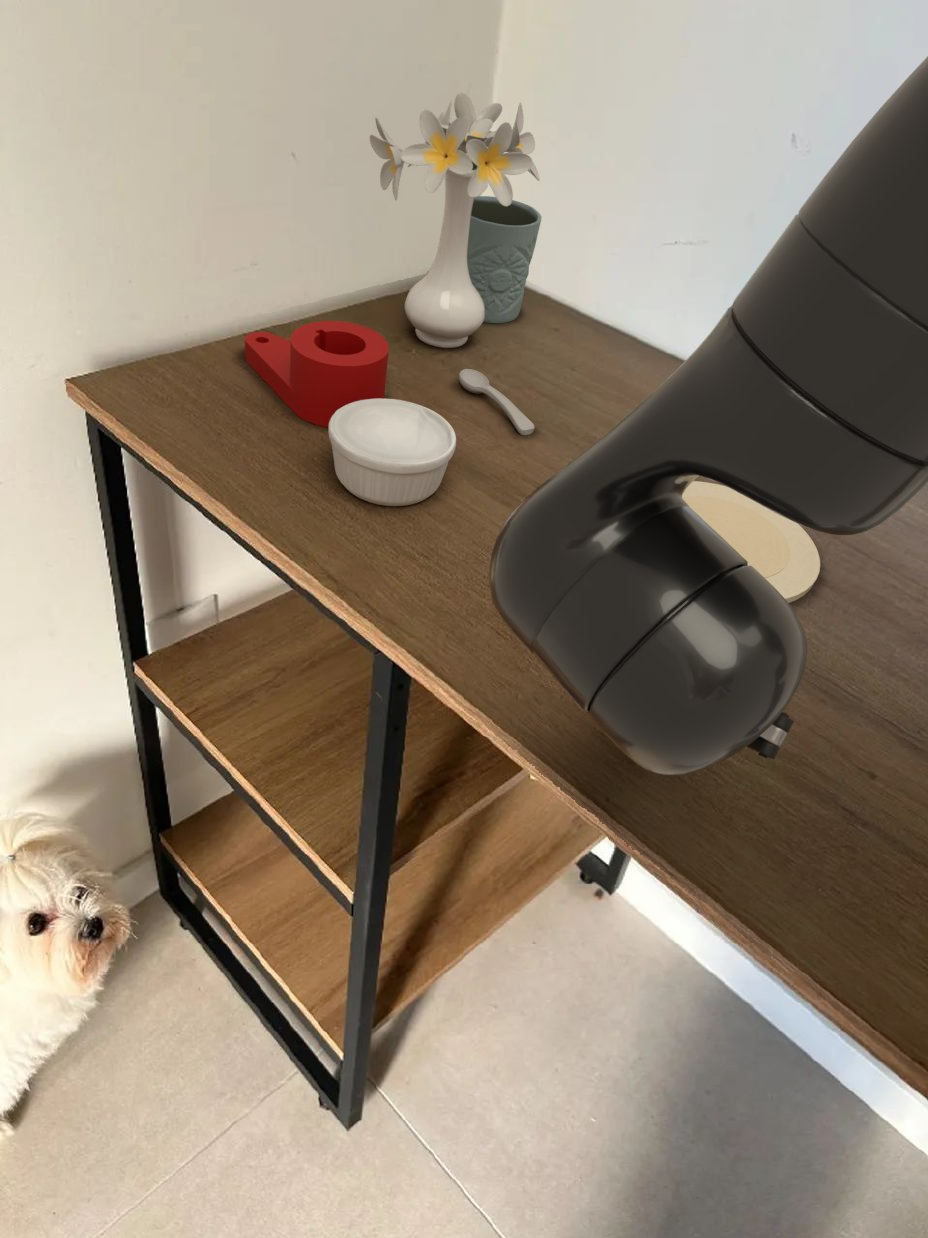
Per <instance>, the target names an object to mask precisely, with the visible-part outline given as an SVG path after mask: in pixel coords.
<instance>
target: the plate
mask: <svg viewBox="0 0 928 1238" xmlns="http://www.w3.org/2000/svg"><path fill="white" fill-rule="evenodd" d="M682 499H683V500H684V501H685V502H686V503H687V504H688V506H689V507H690V508H691V509H692V510H693V511H694V512H695V513H697V514H698V515H699V516H700V517H701V518H702V519H703V520H704V521H705V522H706V523H707V524H708V525H709V526H710V527H711V528H712V529H713V530H715V531H716V532H717V533H718V534H719V535H720V536H721V537H722V538H723V539H724V540H725V541H726V542H727V543H728V544H729V545H730V546H731V547H733V548H734V549H735V550H736V551H737V552H738V553H739V554H740V555H741V556H742V557H743V558H744V559H745V560H746V561H747V562H748V566H752V567H754V568H755V569H756V570H757V571H758V572H759V573H760V574H761V575H762V576H763V577H764V578H765V579H766V580H767V581H768V582H769V583H770V584H771V585H772V586H773V587H774V588H775V589H776V590H777V591H778V592H779V593H780V594H781V595H782V596H783V597H784V598H785V600H786V601H787V602H788V603H789V604H790V603H794V602H796V601H797V600H799V599H802V597H805V595H806V594H807V593H809V592H810V590H811V589H812V588H813V587H814V585H815V583H816V581H817V579H818V577H819V575H820V571H821V557H820V554H819V550H818V549H817V547H816V545H815V542H814V541H813V540H812V538H811V536H810V535H809V534H808V533H807V532H806V530H805V529H804V528H803V526H802V525H800V524H798V523H796V522H793V521H791V520H789V519H787V518H785V517H783V516H780V515H778V514H776V513H774V512H773V511H771V510H769V509H767V508H766V507H764V506H762V505H760V504H759V503H757V502H755V501H753V500H751V499H749V498H748V497H746V496H744V495H742V494H740V493H738V492H736V491H735V490H733V489H731V488H729V487H726V486H724V485H722V484H720V483H718V484H717V483H714V482H707V481H700V480H699V481H698V480H694V481H693V482H692V483H691V484H690V485H689V486H688V487H687V489H686V490H685V492H684V493H683V495H682Z"/></svg>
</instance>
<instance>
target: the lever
mask: <svg viewBox="0 0 928 1238" xmlns="http://www.w3.org/2000/svg"><path fill="white" fill-rule="evenodd" d="M389 347H390V346H389V343H388V341H387V340H386V338H385V337H384V336H383V335H382V334H380V333H379V332H377V331H376V330H374V329H371V328H369V327H367V326H364V325H360V324H358V323H353V322H347V321H341V320H340V321H338V320H323V321H313V322H310V323H306V324H303V325H302V326H299V327H298V328H296V329H295V330H293V332H292V333H291V335H290V339H287V338H285V337H282V336H279V335H276V334H275V333H271V332H268V331H267V332H266V331H253V332H249V333H248V334H246V335H245V337H244V359H245V362H246V363H247V364H248V365H249V366H250V367H251V368H252V370H254V371H255V373H257V375H259V377H260V378H261V379H262V380H263V381H264V382H265V383H266V384H267V385H268V386H269V387H270V388H271V390H272V391H273V392H275V394H277V396H278V397H279V398H280V399H281V400H282V401H283V402H284V403H285V405H287V406H288V408H289V409H290V410H291V411H292V412H293V413H294V414H295V415H296V416H297V417H299V418H300V419H302V420H304V421H306V422H308V423H310V424H313V425H315V426H319V427H324V428H328V429H329V422H330V419H331V417H332V415H333V414H334V413H335V412H336V411H337V410H338V409H340V408H341V407H343V406H345V405H347V404H350V403H353V402H356V401H360V400H366V399H378V398H381V399H385V394H386V382H387V373H388V363H389V351H390V348H389Z"/></svg>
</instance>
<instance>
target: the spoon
mask: <svg viewBox="0 0 928 1238" xmlns="http://www.w3.org/2000/svg"><path fill="white" fill-rule="evenodd" d="M458 381H459V383H460V385H461V386H462V388H464V389H465V390H466V391H467V392H468V393H472V394H477V395H479V394H485V395H487V396H488V397H490V398H491V399H492V400H493V401H495V402H496V404H497V405H498V406H499V407H500V408H501V410H502V411H503V412H504V413H505V414H506V416H507V417H508V419H509V420H510V422H511V423H512V424H513V426H514V428H515V430H516V431H517V432H518V434H520V435H521V436H528V435H531V434H533V432H534V431H535V425H534V423H533V422H532V421H531V419H529V418H528V417H527V416H526V415H525V414H524V413H523V412H522V411H521V410H520V409H519V408H518V407H517V406H516V405H515V404H514V403H513V402H512V401H511V400H510V399H508V397H506V396H505V395H504V394H503V393H501V392H500V391H499V390H497V388H494V387H493V386H492V385H490V380H489V379H488V377H486V376H485V374H483V373H482V372H480V371H478V370H475V369H472V368H464V369H462V370H460V371H459V373H458Z"/></svg>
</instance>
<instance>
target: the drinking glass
mask: <svg viewBox="0 0 928 1238" xmlns="http://www.w3.org/2000/svg"><path fill="white" fill-rule="evenodd" d="M541 222H542V215H541V213H540V212H539V211H538V210H537V209H535V208H534V207H533V206H531V205H530V204H526V203H524V202H521V201H518V200H515V199H512V203H511V204H510V205H509V206H503V205H502V204H501V203H500V202H499V201H498V200H497V198H496V197H495V196H490V195H480V196H477V197H475V198H474V202H473V206H472V212H471V219H470V228H469V238H468V250H467V264H468V270H469V275H470V278H471V282H472V284H473V285H474V287H475V288H476V289H477V291H478V292H479V294H480V296H481V298H482V300H483V302H484V306H485V318H484V322H483V323H487V324H504V323H505V324H506V323H510V322H512V321H514V320H515V319H517V318H518V316H519V315H520V313H521V308H522V304H523V300H524V294H525V286H526V283H527V279H528V276H529V273H530V265H531V262H532V259H533V255H534V252H535V248H536V245H537V239H538V235H539V230H540V227H541Z"/></svg>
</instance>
